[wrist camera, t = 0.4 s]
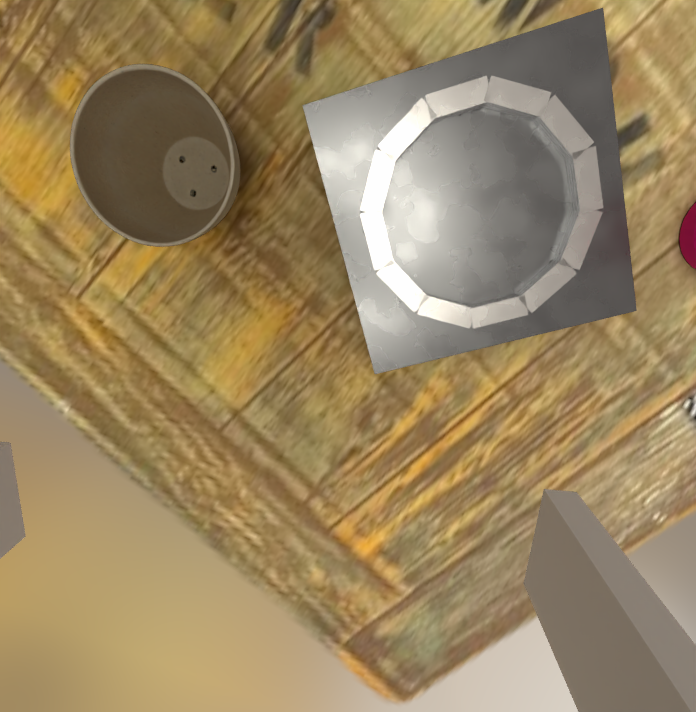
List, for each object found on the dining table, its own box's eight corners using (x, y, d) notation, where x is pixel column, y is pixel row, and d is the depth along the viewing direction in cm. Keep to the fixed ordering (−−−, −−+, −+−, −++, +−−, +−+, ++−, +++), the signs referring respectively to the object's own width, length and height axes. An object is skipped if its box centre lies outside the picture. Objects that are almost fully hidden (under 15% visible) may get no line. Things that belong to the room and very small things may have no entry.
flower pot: (171, 69, 31) (113, 23, 24) (289, 155, 32) (266, 134, 25) (110, 193, 34) (41, 183, 27) (221, 270, 35) (183, 278, 28)
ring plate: (304, 109, 31) (299, 100, 29) (595, 15, 29) (612, -3, 27) (374, 370, 36) (374, 378, 34) (628, 308, 34) (646, 313, 32)
